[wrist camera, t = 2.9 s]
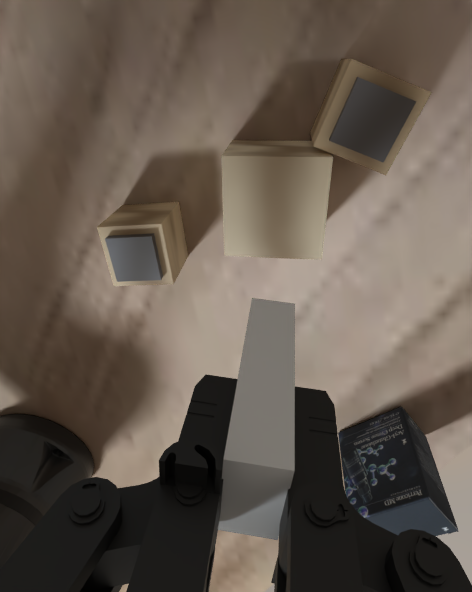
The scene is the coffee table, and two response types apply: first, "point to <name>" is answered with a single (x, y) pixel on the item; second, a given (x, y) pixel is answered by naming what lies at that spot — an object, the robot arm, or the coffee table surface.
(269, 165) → the plain oak block
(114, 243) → the marked oak block 2
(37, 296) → the coffee table surface
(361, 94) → the marked oak block 1
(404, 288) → the coffee table surface
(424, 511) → the box
